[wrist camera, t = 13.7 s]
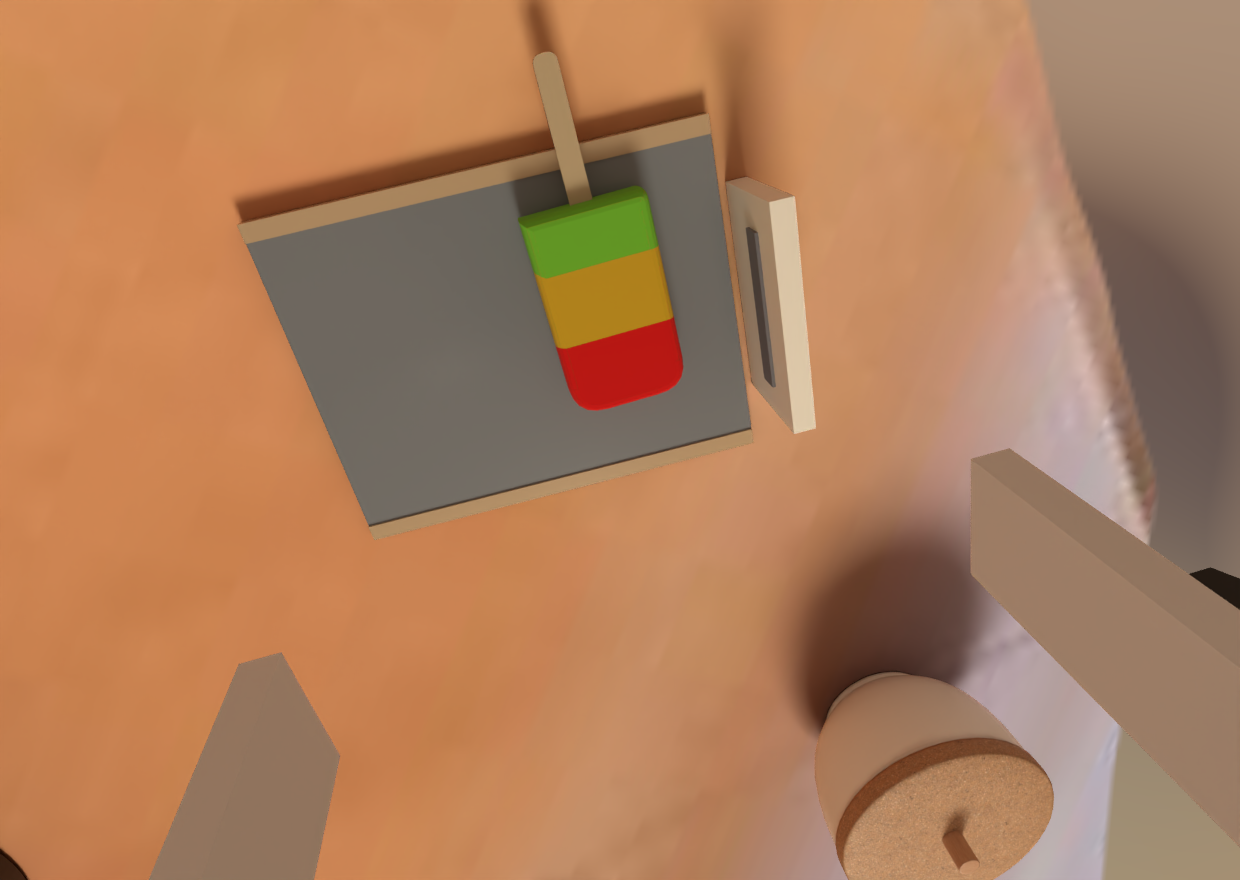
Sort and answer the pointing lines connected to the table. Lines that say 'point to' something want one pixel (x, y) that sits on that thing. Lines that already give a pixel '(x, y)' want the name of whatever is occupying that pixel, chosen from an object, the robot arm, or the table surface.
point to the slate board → (496, 331)
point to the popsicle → (600, 275)
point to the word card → (772, 298)
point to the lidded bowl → (925, 783)
